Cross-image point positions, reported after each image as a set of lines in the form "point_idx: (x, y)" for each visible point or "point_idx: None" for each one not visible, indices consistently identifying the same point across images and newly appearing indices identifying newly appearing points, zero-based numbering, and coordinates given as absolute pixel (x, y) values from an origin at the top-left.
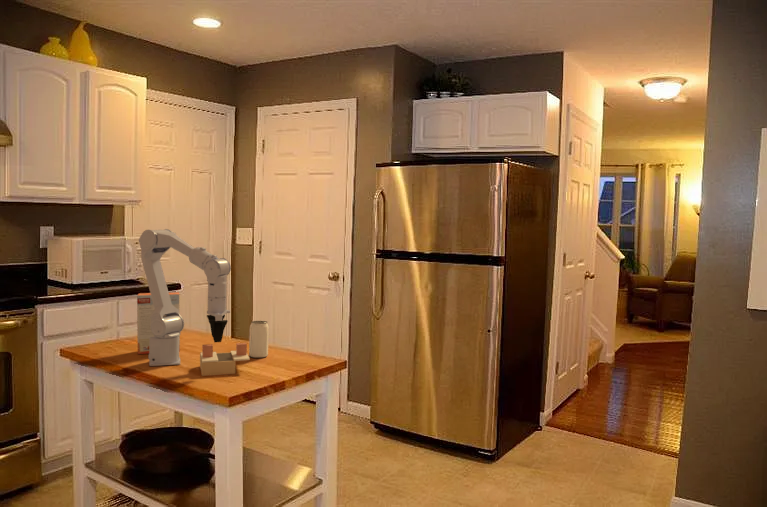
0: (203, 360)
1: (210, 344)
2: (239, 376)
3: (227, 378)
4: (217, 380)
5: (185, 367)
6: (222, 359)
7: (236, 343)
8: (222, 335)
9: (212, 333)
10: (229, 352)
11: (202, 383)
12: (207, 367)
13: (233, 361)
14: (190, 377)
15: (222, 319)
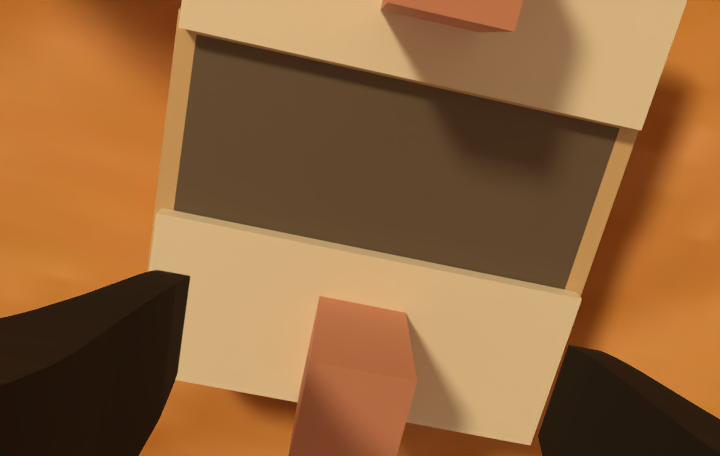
0: (517, 430)
1: (312, 384)
2: (698, 90)
3: (695, 208)
4: (703, 297)
5: (172, 416)
6: (496, 223)
7: (403, 6)
8: (681, 400)
9: (155, 414)
10: (176, 40)
11: (713, 413)
12: None
13: (634, 133)
14: (500, 448)
15: (9, 407)
